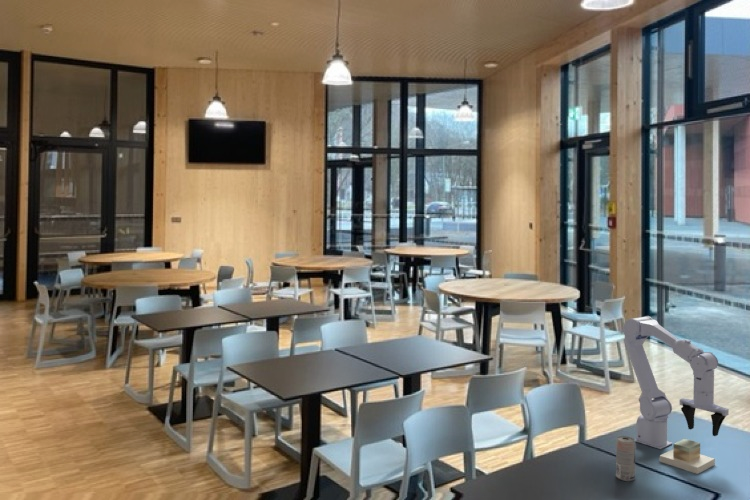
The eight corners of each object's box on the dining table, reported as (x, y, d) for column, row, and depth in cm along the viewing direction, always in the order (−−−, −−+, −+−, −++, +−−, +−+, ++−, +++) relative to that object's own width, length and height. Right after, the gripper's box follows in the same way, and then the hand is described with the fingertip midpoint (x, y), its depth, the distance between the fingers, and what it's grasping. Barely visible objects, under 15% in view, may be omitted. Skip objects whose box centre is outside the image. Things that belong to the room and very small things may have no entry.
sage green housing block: (673, 457, 195) (673, 443, 195) (684, 452, 199) (684, 438, 199) (688, 462, 191) (689, 448, 191) (700, 456, 195) (700, 443, 195)
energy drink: (634, 475, 187) (634, 436, 186) (635, 482, 182) (635, 443, 181) (615, 473, 189) (615, 435, 188) (616, 480, 184) (616, 441, 183)
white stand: (659, 461, 197) (659, 455, 197) (677, 453, 203) (677, 447, 203) (697, 474, 187) (697, 467, 187) (714, 464, 194) (714, 458, 194)
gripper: (674, 387, 199) (674, 428, 200) (721, 398, 188) (720, 441, 188) (685, 383, 203) (685, 423, 204) (731, 393, 192) (731, 436, 193)
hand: (703, 431), depth 197 cm, fingers open, 7 cm apart
